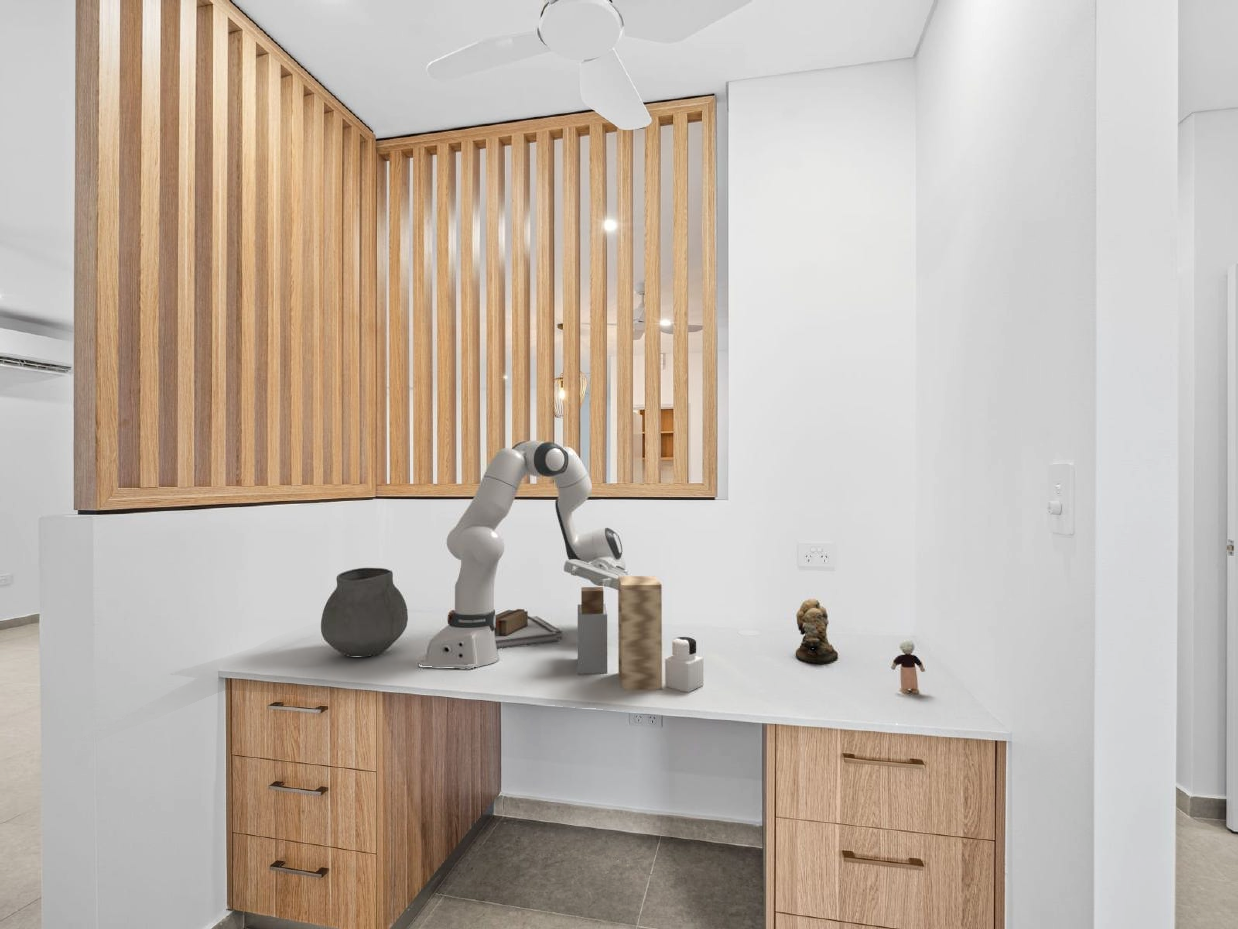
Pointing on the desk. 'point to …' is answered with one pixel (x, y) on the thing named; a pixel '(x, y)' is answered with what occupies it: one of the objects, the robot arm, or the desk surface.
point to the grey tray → (523, 629)
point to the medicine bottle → (684, 666)
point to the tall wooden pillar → (640, 632)
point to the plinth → (592, 642)
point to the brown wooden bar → (592, 600)
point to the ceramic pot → (364, 612)
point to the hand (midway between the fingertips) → (587, 577)
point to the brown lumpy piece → (814, 634)
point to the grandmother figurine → (908, 667)
